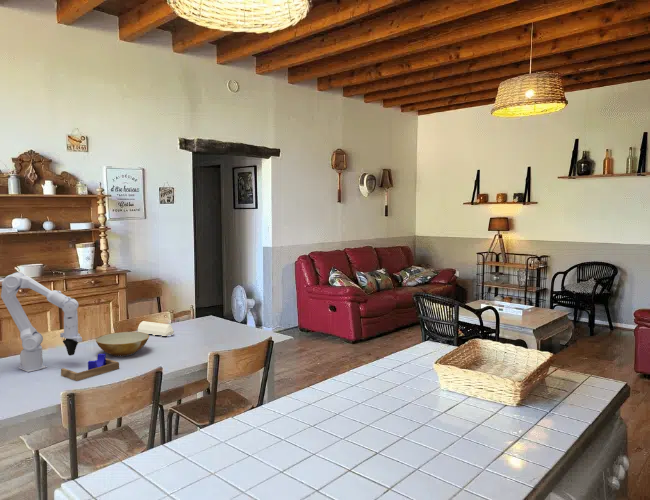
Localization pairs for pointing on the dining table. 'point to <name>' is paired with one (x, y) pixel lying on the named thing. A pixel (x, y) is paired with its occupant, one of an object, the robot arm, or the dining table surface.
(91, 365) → the blue cradle block
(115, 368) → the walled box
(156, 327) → the crystal
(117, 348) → the bowl
